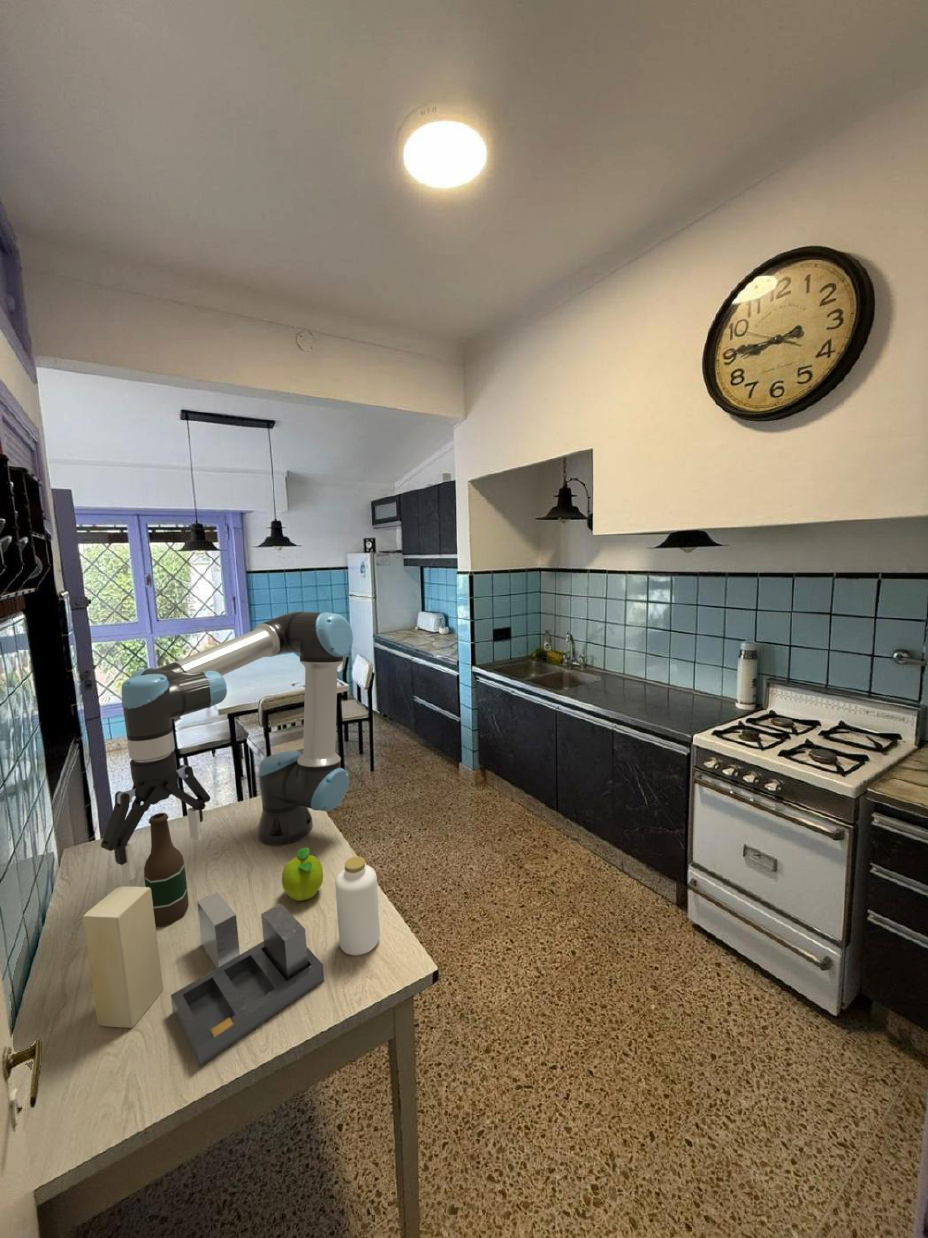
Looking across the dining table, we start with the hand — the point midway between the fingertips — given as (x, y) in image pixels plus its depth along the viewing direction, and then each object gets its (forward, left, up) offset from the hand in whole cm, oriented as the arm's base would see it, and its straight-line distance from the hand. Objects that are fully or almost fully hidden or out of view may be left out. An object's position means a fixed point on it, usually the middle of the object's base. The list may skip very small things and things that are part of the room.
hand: (164, 856), depth 99 cm
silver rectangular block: (-7, +6, -21) cm, 23 cm away
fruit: (-27, +3, -22) cm, 34 cm away
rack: (-7, +21, -21) cm, 31 cm away
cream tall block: (+9, +7, -22) cm, 25 cm away
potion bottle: (-28, +25, -22) cm, 43 cm away
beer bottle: (-3, -14, -22) cm, 26 cm away
